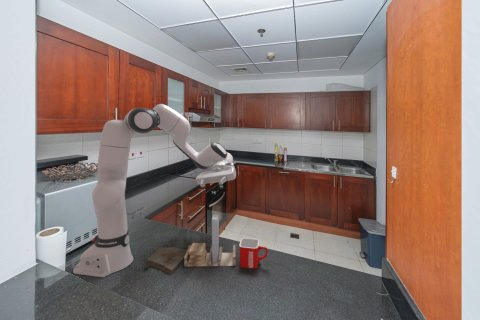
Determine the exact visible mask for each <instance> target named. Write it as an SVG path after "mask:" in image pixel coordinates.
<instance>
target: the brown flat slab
mask: <svg viewBox="0 0 480 320" xmlns="http://www.w3.org/2000/svg"><path fill="white" fill-rule="evenodd" d="M186 252H187V250H186V249H183V248H181V247H179V248H178V247H176V246H174V247H173V246H168V247H158V249H156V251H155V252H154V253H153V254H152V255H151V256H150V257H148V259H146V261H145V267H146V268H147V269H149V267H152V268H155V269H159V270H161V271H163V272H164V273H166V274H167V275H170V276H171V275H173V274H174V273H175V272H176V270H177V269H178V268H179V267H180V265H181V264H182V263H183V262H184V257H185V254H186Z"/></svg>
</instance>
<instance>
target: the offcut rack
mask: <svg viewBox="0 0 480 320" xmlns="http://www.w3.org/2000/svg"><path fill="white" fill-rule="evenodd" d="M191 246H192V244H189V245H188V247H187V250H186V251H187V252H186V254H185V257H184V259H183V262H184V263H183V264H184V266H183V267H231V266H233V267H234V266H235V267H236V244H233V245H232V246H233V247H232V252H223V247H222V246H219V258H218V263H212V246H210V249H209V252H207V256H206V260H205V265H188V260H189V257H190V255H189V249H190V247H191Z"/></svg>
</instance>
